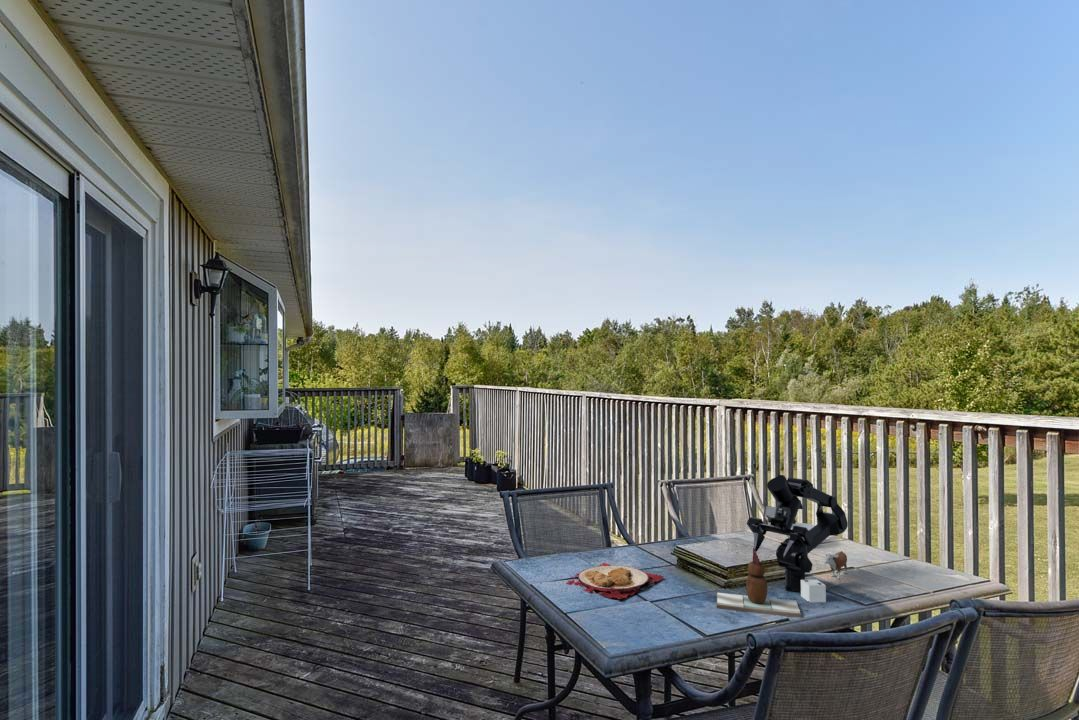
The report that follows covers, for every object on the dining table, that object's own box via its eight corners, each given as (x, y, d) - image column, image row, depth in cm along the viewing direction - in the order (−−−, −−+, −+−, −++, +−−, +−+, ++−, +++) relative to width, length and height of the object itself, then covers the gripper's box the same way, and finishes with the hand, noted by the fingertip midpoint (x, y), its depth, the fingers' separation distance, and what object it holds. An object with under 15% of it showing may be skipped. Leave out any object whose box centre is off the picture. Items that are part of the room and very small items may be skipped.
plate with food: (664, 582, 189) (664, 571, 189) (620, 602, 169) (620, 590, 169) (603, 567, 205) (603, 557, 205) (556, 584, 185) (556, 573, 185)
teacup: (826, 548, 225) (826, 527, 225) (801, 551, 220) (801, 530, 221) (797, 538, 239) (796, 519, 239) (773, 541, 234) (773, 521, 235)
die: (801, 596, 174) (800, 579, 174) (816, 596, 174) (816, 579, 174) (809, 602, 169) (809, 585, 169) (826, 602, 169) (825, 584, 169)
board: (716, 595, 174) (716, 591, 174) (796, 604, 167) (796, 599, 167) (716, 608, 164) (716, 603, 165) (801, 617, 158) (801, 612, 158)
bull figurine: (822, 578, 189) (821, 554, 190) (838, 570, 198) (837, 546, 198) (835, 582, 186) (835, 557, 186) (851, 573, 195) (851, 549, 195)
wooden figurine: (746, 596, 170) (745, 545, 171) (767, 598, 168) (766, 547, 169) (746, 604, 164) (745, 551, 165) (768, 607, 162) (767, 553, 163)
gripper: (749, 491, 182) (730, 532, 175) (807, 500, 168) (790, 545, 161) (762, 512, 187) (744, 553, 180) (820, 523, 173) (803, 567, 165)
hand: (769, 554), depth 171 cm, fingers open, 9 cm apart
